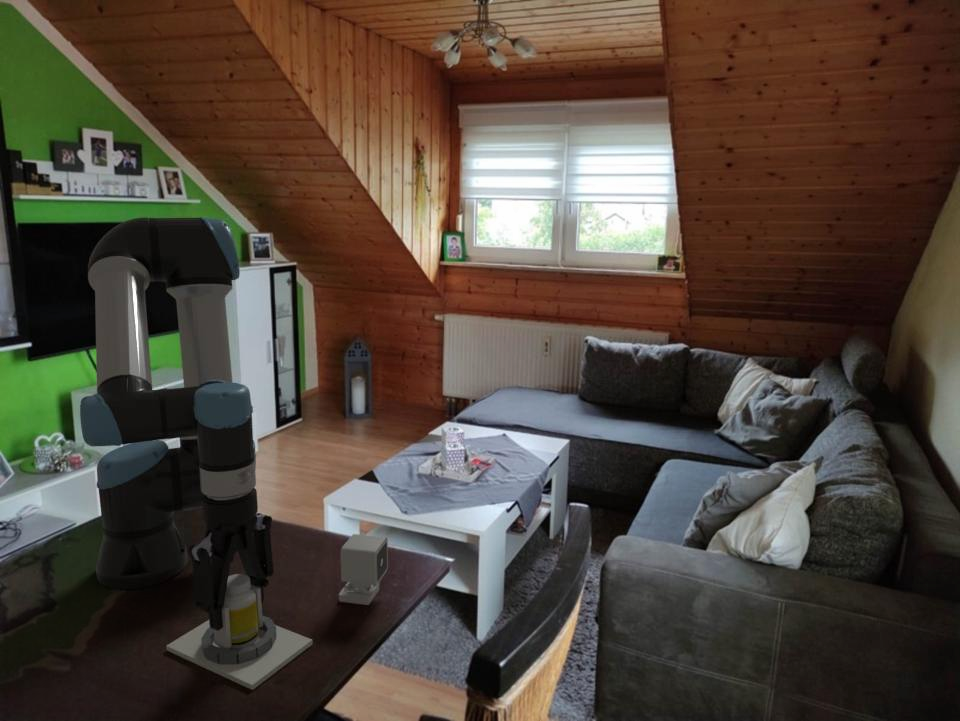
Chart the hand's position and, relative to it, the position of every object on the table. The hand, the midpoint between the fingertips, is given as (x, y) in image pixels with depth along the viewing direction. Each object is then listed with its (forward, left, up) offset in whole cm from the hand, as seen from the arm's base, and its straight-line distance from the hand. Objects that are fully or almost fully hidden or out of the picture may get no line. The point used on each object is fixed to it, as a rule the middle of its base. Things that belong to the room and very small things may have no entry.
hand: (239, 634), depth 105 cm
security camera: (+7, +21, -2) cm, 22 cm away
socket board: (0, 0, -2) cm, 2 cm away
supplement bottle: (0, 0, -1) cm, 1 cm away
